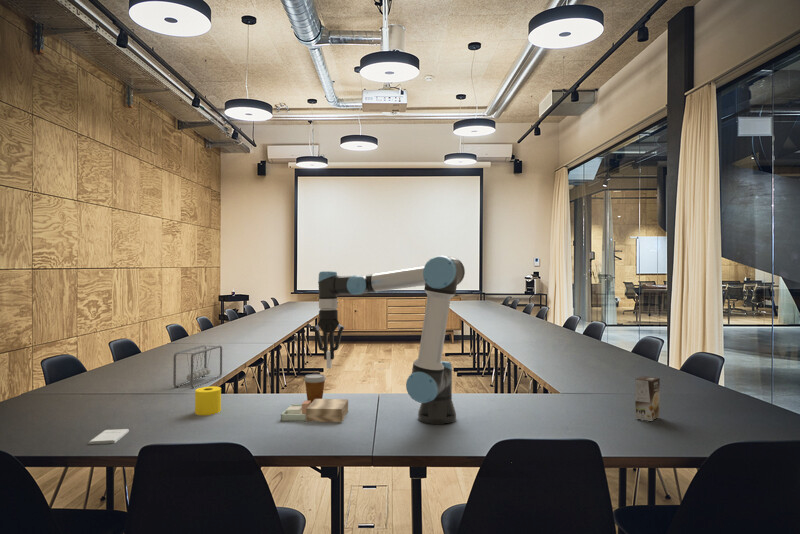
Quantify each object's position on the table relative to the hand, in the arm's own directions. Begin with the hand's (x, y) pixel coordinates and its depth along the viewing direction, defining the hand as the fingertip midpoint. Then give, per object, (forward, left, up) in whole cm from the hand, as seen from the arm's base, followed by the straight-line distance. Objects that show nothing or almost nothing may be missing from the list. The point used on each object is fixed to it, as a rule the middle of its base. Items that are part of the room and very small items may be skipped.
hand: (329, 367), depth 200 cm
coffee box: (-127, -5, -20) cm, 129 cm away
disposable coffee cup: (+11, -20, -20) cm, 30 cm away
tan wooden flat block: (+1, 0, -20) cm, 20 cm away
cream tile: (+14, -1, -17) cm, 22 cm away
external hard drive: (+72, +30, -20) cm, 80 cm away
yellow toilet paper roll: (+52, -3, -20) cm, 55 cm away
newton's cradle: (+81, -58, -20) cm, 102 cm away
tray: (+13, 0, -20) cm, 23 cm away
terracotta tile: (+8, 0, -17) cm, 18 cm away
